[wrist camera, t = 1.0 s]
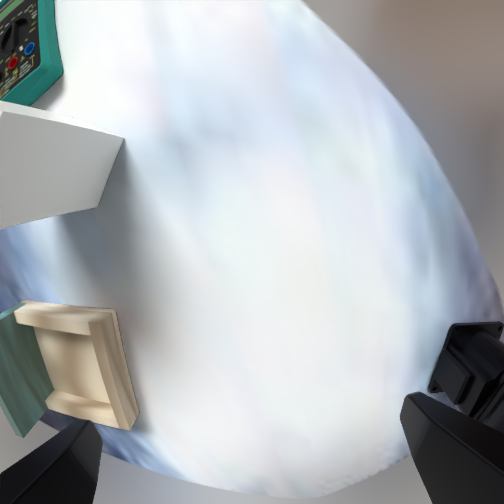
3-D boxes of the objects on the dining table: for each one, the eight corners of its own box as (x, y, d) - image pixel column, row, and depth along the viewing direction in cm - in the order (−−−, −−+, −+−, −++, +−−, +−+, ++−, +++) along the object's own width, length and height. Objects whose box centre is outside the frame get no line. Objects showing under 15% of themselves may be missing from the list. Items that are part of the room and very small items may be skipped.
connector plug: (124, 137, 18) (-36, 105, 5) (97, 206, 19) (-61, 247, 6) (72, 117, 17) (-75, 88, 5) (49, 181, 19) (-97, 199, 6)
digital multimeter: (9, 127, 18) (-14, 124, 15) (5, 16, 15) (-12, 8, 12) (69, 81, 17) (47, 72, 14) (58, -26, 14) (43, -38, 11)
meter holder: (115, 309, 20) (62, 358, 13) (139, 412, 23) (109, 470, 16) (24, 300, 21) (-30, 332, 14) (53, 392, 23) (16, 434, 16)
